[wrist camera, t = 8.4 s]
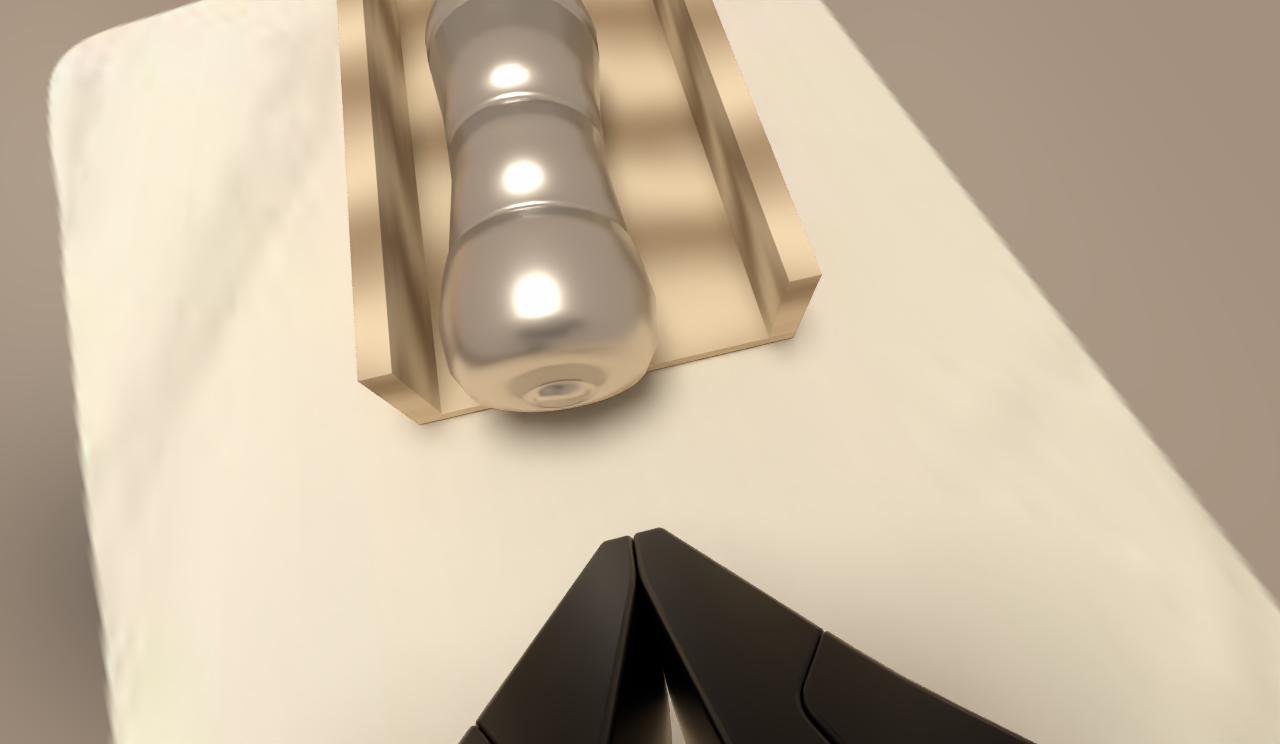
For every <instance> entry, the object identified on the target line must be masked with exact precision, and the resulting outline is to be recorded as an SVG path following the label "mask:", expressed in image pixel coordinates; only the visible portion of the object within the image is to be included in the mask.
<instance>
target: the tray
mask: <svg viewBox="0 0 1280 744" xmlns="http://www.w3.org/2000/svg"><path fill="white" fill-rule="evenodd" d="M434 1H435V0H337V10H338V29H339V47H340V66H341V84H342V102H343V121H344V139H345V157H346V176H347V194H348V212H349V231H350V249H351V267H352V286H353V304H354V322H355V341H356V359H357V378H358V382H360V383H361V384H363V385H364V386H365V387H367V388H368V389H370V390H371V391H372V392H374V393H375V394H377V395H378V396H380V397H381V398H382V399H384V400H385V401H387V402H388V403H389V404H391V405H392V406H394V407H395V408H397V409H398V410H399V411H401V412H402V413H404V414H405V415H406V416H408V417H409V418H411V419H412V420H414V421H415V422H416V423H418V424H419V425H420V424H424V423H429V422H433V421H437V420H442V419H446V418H450V417H454V416H459V415H463V414H467V413H471V412H476V411H480V410H484V409H489V408H491V407H488V406H485V405H482V404H480V403H478V402H476V401H474V400H473V399H472V398H471V397H470V396H469V395H468V394H467V393H466V392H465V390H464V389H463V388H462V387H461V386H460V385H459V383H458V382H457V381H456V380H455V379H454V378H453V376H452V375H451V374H450V371H449V368H448V365H447V361H446V357H445V353H444V349H443V345H442V342H441V338H440V334H439V330H438V316H439V306H440V296H441V286H442V277H443V272H444V268H445V263H446V258H447V256H448V253H449V232H450V208H451V182H452V180H451V173H450V165H449V155H448V149H447V143H446V136H445V128H444V121H443V117H442V114H441V110H440V106H439V102H438V98H437V95H436V91H435V87H434V83H433V79H432V75H431V72H430V68H429V63H428V58H427V50H426V44H425V29H426V23H427V20H428V16H429V13H430V10H431V8H432V6H433V4H434ZM581 1H582V2H583V4H584V5H585V7H586V8H587V10H588V12H589V13H590V15H591V17H592V20H593V23H594V25H595V28H596V33H597V41H598V50H599V58H600V60H599V65H600V115H601V122H602V130H603V137H604V145H605V151H606V159H607V166H608V169H609V172H610V176H611V179H612V182H613V185H614V189H615V192H616V195H617V198H618V202H619V205H620V208H621V211H622V215H623V218H624V221H625V224H626V227H627V231H628V234H629V235H630V237H631V239H632V241H633V243H634V245H635V247H636V249H637V251H638V254H639V256H640V258H641V260H642V262H643V264H644V267H645V269H646V272H647V275H648V277H649V280H650V283H651V286H652V288H653V291H654V294H655V296H656V313H657V347H656V350H655V352H654V354H653V357H652V359H651V361H650V364H649V366H648V368H647V370H646V372H647V371H651V370H656V369H660V368H664V367H668V366H673V365H677V364H681V363H686V362H690V361H694V360H698V359H703V358H707V357H711V356H716V355H720V354H724V353H728V352H733V351H737V350H741V349H746V348H750V347H754V346H758V345H763V344H767V343H771V342H776V341H780V340H784V339H788V338H793V336H794V334H795V332H796V330H797V328H798V325H799V323H800V321H801V319H802V317H803V315H804V312H805V310H806V308H807V306H808V304H809V301H810V299H811V297H812V295H813V293H814V290H815V288H816V286H817V284H818V282H819V279H820V277H821V275H822V274H821V271H820V269H819V266H818V264H817V261H816V259H815V256H814V254H813V251H812V249H811V246H810V244H809V241H808V239H807V236H806V234H805V231H804V229H803V226H802V224H801V221H800V219H799V216H798V214H797V211H796V209H795V206H794V204H793V201H792V199H791V196H790V194H789V191H788V189H787V186H786V184H785V181H784V179H783V176H782V174H781V171H780V169H779V166H778V164H777V161H776V159H775V156H774V154H773V151H772V149H771V146H770V144H769V141H768V139H767V136H766V134H765V131H764V129H763V126H762V124H761V121H760V119H759V116H758V114H757V111H756V109H755V106H754V104H753V101H752V99H751V96H750V94H749V91H748V89H747V86H746V84H745V81H744V79H743V76H742V74H741V71H740V69H739V66H738V64H737V61H736V59H735V56H734V54H733V51H732V49H731V46H730V44H729V41H728V39H727V36H726V34H725V31H724V29H723V26H722V24H721V21H720V19H719V16H718V14H717V11H716V9H715V6H714V4H713V1H712V0H581Z"/></svg>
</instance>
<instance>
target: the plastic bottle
mask: <svg viewBox="0 0 1280 744" xmlns="http://www.w3.org/2000/svg"><path fill="white" fill-rule="evenodd" d="M425 44H426V50H427V58H428V63H429V68H430V72H431V75H432V79H433V83H434V87H435V91H436V95H437V98H438V102H439V106H440V110H441V114H442V117H443V121H444V128H445V136H446V143H447V149H448V155H449V165H450V173H451V180H452V182H451V208H450V232H449V253H448V256H447V258H446V263H445V268H444V272H443V277H442V286H441V296H440V306H439V316H438V330H439V334H440V338H441V342H442V345H443V349H444V353H445V357H446V361H447V365H448V368H449V371H450V374H451V375H452V376H453V378H454V379H455V380H456V381H457V382H458V383H459V385H460V386H461V387H462V388H463V389H464V390H465V392H466V393H467V394H468V395H469V396H470V397H471V398H472V399H473V400H474V401H476V402H478V403H480V404H482V405H485V406H488V407H491V408H495V409H500V410H505V411H515V412H544V411H555V410H564V409H569V408H575V407H580V406H584V405H588V404H592V403H596V402H599V401H602V400H605V399H608V398H610V397H612V396H615V395H617V394H619V393H621V392H623V391H625V390H627V389H628V388H630V387H632V386H633V385H634V384H636V383H637V382H638V381H639V380H640V379H641V378H642V377H643V376H644V374H645V373H646V370H647V368H648V366H649V364H650V361H651V359H652V357H653V354H654V352H655V350H656V347H657V313H656V296H655V294H654V291H653V288H652V286H651V283H650V280H649V277H648V275H647V272H646V269H645V267H644V264H643V262H642V260H641V258H640V256H639V254H638V251H637V249H636V247H635V245H634V243H633V241H632V239H631V237H630V235H629V234H628V231H627V227H626V224H625V221H624V218H623V215H622V211H621V208H620V205H619V202H618V198H617V195H616V192H615V189H614V185H613V182H612V179H611V176H610V172H609V169H608V166H607V159H606V151H605V145H604V137H603V130H602V122H601V115H600V65H599V60H600V58H599V50H598V41H597V33H596V28H595V25H594V23H593V20H592V17H591V15H590V13H589V12H588V10H587V8H586V7H585V5H584V4H583V2H582V1H581V0H435V1H434V4H433V6H432V8H431V10H430V13H429V16H428V20H427V23H426V29H425Z"/></svg>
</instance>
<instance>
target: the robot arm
mask: <svg viewBox="0 0 1280 744" xmlns="http://www.w3.org/2000/svg"><path fill="white" fill-rule="evenodd" d="M633 540H634V541H633ZM665 679H666V681H665ZM666 683H667V687H668V691H669V695H670V698H671V701H672V704H673V707H674V710H675V713H676V716H677V719H678V722H679V724H680V727H681V730H682V733H683V736H684V738H685V741H686V744H1036V743H1034V742H1032V741H1030V740H1028V739H1026V738H1024V737H1022V736H1020V735H1018V734H1016V733H1014V732H1012V731H1010V730H1008V729H1006V728H1004V727H1002V726H1000V725H998V724H996V723H994V722H992V721H990V720H988V719H986V718H984V717H982V716H980V715H978V714H976V713H974V712H972V711H969V710H967V709H965V708H963V707H961V706H959V705H957V704H956V703H954V702H952V701H950V700H948V699H946V698H944V697H942V696H940V695H938V694H936V693H934V692H933V691H931V690H929V689H927V688H925V687H923V686H921V685H919V684H917V683H915V682H913V681H911V680H909V679H908V678H906V677H904V676H902V675H900V674H898V673H896V672H895V671H893V670H891V669H890V668H888V667H886V666H885V665H883V664H881V663H879V662H878V661H876V660H874V659H873V658H871V657H869V656H868V655H866V654H864V653H862V652H861V651H859V650H857V649H856V648H854V647H852V646H851V645H849V644H848V643H846V642H844V641H843V640H841V639H840V638H838V637H836V636H835V635H833V634H832V633H830V632H828V631H826V632H824V631H823V629H822V628H820V627H819V626H817V625H815V624H814V623H812V622H811V621H809V620H807V619H806V618H804V617H803V616H801V615H800V614H798V613H796V612H795V611H793V610H792V609H790V608H788V607H787V606H785V605H784V604H782V603H781V602H779V601H777V600H776V599H774V598H773V597H771V596H769V595H768V594H766V593H765V592H763V591H762V590H760V589H758V588H757V587H755V586H754V585H752V584H750V583H749V582H747V581H746V580H744V579H743V578H741V577H739V576H738V575H736V574H735V573H733V572H731V571H730V570H728V569H727V568H725V567H724V566H722V565H720V564H719V563H717V562H716V561H714V560H712V559H711V558H709V557H708V556H706V555H705V554H703V553H701V552H700V551H698V550H697V549H695V548H693V547H692V546H690V545H689V544H687V543H686V542H684V541H682V540H681V539H679V538H678V537H676V536H674V535H673V534H671V533H670V532H668V531H667V530H665V529H663V528H655V529H651V530H647V531H643V532H640V533H637V534H635V535H634V538H633V539H632V538H631V537H630V536H624V537H620V538H616V539H612V540H608V541H605V542H603V543H602V544H601V545H600V547H599V548H598V549H597V551H596V552H595V554H594V555H593V557H592V558H591V559H590V561H589V562H588V564H587V565H586V566H585V568H584V569H583V571H582V572H581V573H580V575H579V576H578V578H577V579H576V581H575V582H574V583H573V585H572V586H571V588H570V589H569V590H568V592H567V593H566V595H565V596H564V598H563V599H562V600H561V602H560V603H559V605H558V606H557V607H556V609H555V610H554V612H553V613H552V614H551V616H550V617H549V619H548V620H547V622H546V623H545V624H544V626H543V627H542V629H541V630H540V631H539V633H538V634H537V636H536V637H535V638H534V640H533V641H532V643H531V644H530V646H529V647H528V648H527V650H526V651H525V653H524V654H523V655H522V657H521V658H520V660H519V661H518V662H517V664H516V665H515V667H514V668H513V670H512V671H511V672H510V674H509V675H508V677H507V678H506V679H505V681H504V682H503V684H502V685H501V686H500V688H499V689H498V691H497V692H496V694H495V695H494V696H493V698H492V699H491V701H490V702H489V703H488V705H487V706H486V708H485V709H484V710H483V712H482V713H481V715H480V716H479V718H478V719H477V720H476V726H471V727H470V728H469V730H468V731H467V732H466V734H465V735H464V737H463V738H462V739H461V741H460V742H459V744H672V734H671V721H670V710H669V700H668V693H667V687H666Z"/></svg>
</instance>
